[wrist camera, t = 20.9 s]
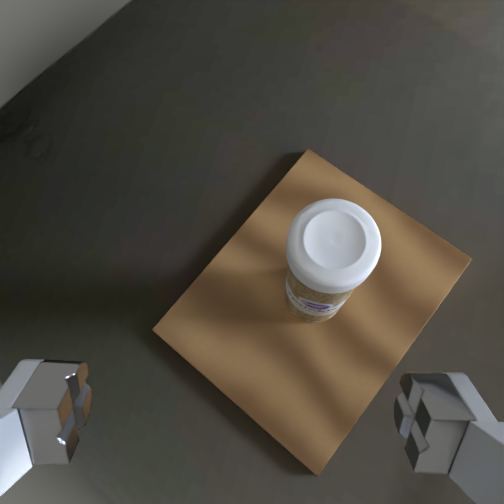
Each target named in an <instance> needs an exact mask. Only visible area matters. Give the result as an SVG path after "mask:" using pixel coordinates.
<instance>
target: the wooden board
mask: <svg viewBox="0 0 504 504" xmlns="http://www.w3.org/2000/svg"><path fill="white" fill-rule="evenodd" d="M332 198H334V199H343V200H347V201H350V202H352V203H355V204H357V205H358V206H360V207H361V208H363V209H364V210H365V211H366V212H367V213H368V214H369V215H370V216H371V217H372V218H373V220H374V221H375V223H376V225H377V227H378V229H379V232H380V236H381V253H380V257H379V260H378V262H377V264H376V266H375V268H374V269H373V270H372V272H371V273H370V274H369V276H368V277H367V278H366V279H365V280H364V281H363V282H362V283H361V284H360V285H359V286H357V287H355V288H354V290H353V291H352V293H351V294H350V296H349V297H348V298H347V300H346V301H345V302H344V303H343V305H342V306H341V307H340V308H339V310H338V312H337V313H336V314H335V315H334V316H333V317H332V318H330V319H328V320H326V321H323V322H319V323H310V322H305V321H303V320H301V319H299V318H297V317H296V316H295V315H294V314H293V313H292V312H291V311H290V310H289V308H288V306H287V303H286V301H285V295H284V290H285V286H286V276H287V266H288V261H287V257H286V241H287V235H288V231H289V228H290V225H291V223H292V221H293V219H294V218H295V217H296V215H297V214H298V213H299V212H300V211H301V210H302V209H303V208H305V207H306V206H308V205H309V204H311V203H313V202H316V201H319V200H323V199H332ZM471 260H472V258H471V257H469V256H468V255H466V254H465V253H463V252H462V251H460V250H459V249H457V248H456V247H454V246H453V245H451V244H450V243H448V242H447V241H445V240H444V239H442V238H441V237H439V236H438V235H436V234H435V233H433V232H432V231H430V230H429V229H427V228H426V227H424V226H423V225H421V224H420V223H418V222H417V221H415V220H414V219H412V218H411V217H409V216H408V215H406V214H405V213H403V212H402V211H400V210H399V209H397V208H396V207H394V206H393V205H391V204H390V203H388V202H387V201H385V200H384V199H382V198H381V197H379V196H378V195H376V194H375V193H373V192H372V191H370V190H369V189H367V188H366V187H364V186H363V185H361V184H360V183H358V182H357V181H355V180H354V179H352V178H351V177H349V176H348V175H346V174H345V173H343V172H342V171H340V170H339V169H337V168H336V167H334V166H333V165H331V164H330V163H328V162H327V161H325V160H324V159H322V158H321V157H319V156H318V155H317V154H315V153H314V152H312V151H311V150H309V149H307V151H306V152H305V153H304V154H303V155H302V156H301V158H300V159H299V160H298V161H297V162H296V163H295V165H294V166H293V167H292V168H291V169H290V170H289V171H288V173H287V174H286V175H285V176H284V177H283V178H282V180H281V181H280V182H279V183H278V184H277V185H276V187H275V188H274V189H273V190H272V191H271V192H270V194H269V195H268V196H267V197H266V198H265V199H264V200H263V202H262V203H261V204H260V205H259V206H258V207H257V209H256V210H255V211H254V212H253V213H252V214H251V216H250V217H249V218H248V219H247V220H246V221H245V223H244V224H243V225H242V226H241V227H240V228H239V229H238V231H237V232H236V233H235V234H234V235H233V236H232V238H231V239H230V240H229V241H228V242H227V243H226V245H225V246H224V247H223V248H222V249H221V250H220V252H219V253H218V254H217V255H216V256H215V257H214V258H213V260H212V261H211V262H210V263H209V264H208V265H207V267H206V268H205V269H204V270H203V271H202V272H201V274H200V275H199V276H198V277H197V278H196V279H195V281H194V282H193V283H192V284H191V285H190V286H189V287H188V289H187V290H186V291H185V292H184V293H183V294H182V296H181V297H180V298H179V299H178V300H177V301H176V303H175V304H174V305H173V306H172V307H171V308H170V310H169V311H168V312H167V313H166V314H165V315H164V316H163V318H162V319H161V320H160V321H159V322H158V323H157V325H156V326H155V327H154V328H153V329H152V330H153V331H154V332H155V333H156V334H157V335H158V336H159V337H161V338H162V339H163V340H164V341H165V342H166V343H167V344H168V345H170V346H171V347H172V348H173V349H174V350H175V351H176V352H177V353H179V354H180V355H181V356H182V357H183V358H184V359H185V360H186V361H188V362H189V363H190V364H191V365H192V366H193V367H194V368H195V369H197V370H198V371H199V372H200V373H201V374H202V375H203V376H204V377H206V378H207V379H208V380H209V381H210V382H211V383H212V384H214V385H215V386H216V387H217V388H218V389H219V390H220V391H221V392H223V393H224V394H225V395H226V396H227V397H228V398H229V399H230V400H232V401H233V402H234V403H235V404H236V405H237V406H238V407H239V408H241V409H242V410H243V411H244V412H245V413H246V414H247V415H248V416H250V417H251V418H252V419H253V420H254V421H255V422H256V423H257V424H259V425H260V426H261V427H262V428H263V429H264V430H265V431H266V432H268V433H269V434H270V435H271V436H272V437H273V438H274V439H275V440H277V441H278V442H279V443H280V444H281V445H282V446H283V447H284V448H286V449H287V450H288V451H289V452H290V453H291V454H292V455H293V456H295V457H296V458H297V459H298V460H299V461H300V462H301V463H302V464H304V465H305V466H306V467H307V468H308V469H309V470H310V471H311V472H313V473H314V474H315V475H316V476H318V475H319V473H320V472H321V471H322V469H323V468H324V466H325V465H326V464H327V462H328V461H329V459H330V458H331V457H332V455H333V454H334V452H335V451H336V450H337V448H338V447H339V445H340V444H341V443H342V441H343V440H344V438H345V437H346V436H347V434H348V433H349V431H350V430H351V429H352V427H353V426H354V424H355V423H356V422H357V420H358V419H359V417H360V416H361V415H362V413H363V412H364V410H365V409H366V408H367V406H368V405H369V403H370V402H371V400H372V399H373V398H374V396H375V395H376V393H377V392H378V391H379V389H380V388H381V386H382V385H383V384H384V382H385V381H386V379H387V378H388V377H389V375H390V374H391V372H392V371H393V370H394V368H395V367H396V365H397V364H398V363H399V361H400V360H401V358H402V357H403V356H404V354H405V353H406V351H407V350H408V349H409V347H410V346H411V344H412V343H413V342H414V340H415V339H416V337H417V336H418V335H419V333H420V332H421V330H422V329H423V328H424V326H425V325H426V323H427V322H428V321H429V319H430V318H431V316H432V315H433V314H434V312H435V311H436V309H437V308H438V307H439V305H440V304H441V302H442V301H443V299H444V298H445V297H446V295H447V294H448V292H449V291H450V290H451V288H452V287H453V285H454V284H455V283H456V281H457V280H458V278H459V277H460V276H461V274H462V273H463V271H464V270H465V269H466V267H467V266H468V264H469V263H470V262H471Z"/></svg>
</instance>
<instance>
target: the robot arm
mask: <svg viewBox="0 0 504 504" xmlns="http://www.w3.org/2000/svg"><path fill="white" fill-rule="evenodd" d="M88 375H89V372H88V367H87V363H85V362H82V361H64V360H46V359H45V360H38V359H24V360H22V361H20V362H19V363H18V365H17V366H16V367H15V369H14V370H13V372H12V373H11V374H10V376H9V377H8V379H7V380H6V381H5V383H4V384H3V386H2V387H1V388H0V496H1V495H2V494H3V493H4V492H6V491H7V490H8V489H9V488H10V487H11V486H12V485H13V484H14V483H15V482H16V481H17V480H19V479H20V478H21V477H22V476H23V475H24V474H25V473H26V472H27V471H28V470H30V469H31V468H32V465H51V464H52V465H54V464H55V465H56V464H57V465H58V464H59V465H61V464H63V465H67V464H69V463H70V461H71V459H72V456H73V454H74V452H75V449H76V447H77V445H78V442H79V436H78V431H79V430H80V429H82V428H83V427H84V426H85V425H86V423H87V420H88V418H89V415H90V410H91V405H92V391H91V387H90V386H89V385H88V384H87V383H86V382H85V381H86V379H87V377H88ZM400 385H401V388H402V390H403V391H402V392H400V393H399V394H398V395H397V396H396V398H395V403H394V420H395V424H396V427H397V430H398V433H399V434H400V435H401V436H402V437H403V438H405V439H406V440H407V443H406V446H405V451H406V453H407V456H408V458H409V461H410V463H411V466H412V468H413V471H414V473H433V474H449V477H450V478H451V479H452V480H453V481H454V482H455V483H456V484H457V485H458V486H459V487H460V488H461V489H462V490H463V491H464V492H465V493H466V494H467V495H468V496H469V497H470V499H471V500H472V501H473V502H474V503H475V504H504V422H498V421H497V420H496V418H495V417H494V415H493V414H492V412H491V411H490V409H489V408H488V406H487V405H486V404H485V402H484V401H483V399H482V398H481V396H480V395H479V393H478V392H477V390H476V389H475V387H474V386H473V384H472V383H471V381H470V380H469V378H468V377H467V375H465V374H464V373H459V372H443V373H439V372H404V373H403V375H402V376H401V380H400Z"/></svg>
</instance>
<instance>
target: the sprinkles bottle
mask: <svg viewBox="0 0 504 504" xmlns="http://www.w3.org/2000/svg"><path fill="white" fill-rule="evenodd" d="M380 253H381V236H380V232H379V229H378V227H377V225H376V223H375V221H374V220H373V218H372V217H371V216H370V215H369V214H368V213H367V212H366V211H365V210H364V209H363V208H361V207H360V206H358V205H357V204H355V203H352V202H350V201H347V200H343V199H334V198H332V199H323V200H319V201H316V202H313V203H311V204H309V205H308V206H306V207H305V208H303V209H302V210H301V211H300V212H299V213H298V214H297V215H296V217H295V218H294V219H293V221H292V223H291V225H290V228H289V231H288V235H287V241H286V257H287V261H288V266H287V276H286V286H285V290H284V295H285V301H286V303H287V306H288V308H289V310H290V311H291V312H292V313H293V314H294V315H295V316H296V317H297V318H299V319H301V320H303V321H305V322H310V323H319V322H323V321H326V320H328V319H330V318H332V317H333V316H334V315H335V314H336V313H337V312H338V310H339V308H340V307H341V306H342V305H343V303H344V302H345V301H346V300H347V298H348V297H349V296H350V294H351V293H352V291H353V290H354V288H355V287H357V286H359V285H360V284H361V283H362V282H363V281H364V280H365V279H366V278H367V277H368V276H369V274H370V273H371V272H372V270H373V269H374V268H375V266H376V264H377V262H378V260H379V257H380Z"/></svg>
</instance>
